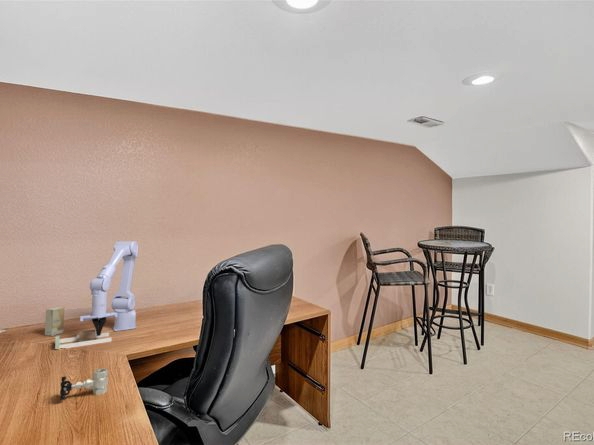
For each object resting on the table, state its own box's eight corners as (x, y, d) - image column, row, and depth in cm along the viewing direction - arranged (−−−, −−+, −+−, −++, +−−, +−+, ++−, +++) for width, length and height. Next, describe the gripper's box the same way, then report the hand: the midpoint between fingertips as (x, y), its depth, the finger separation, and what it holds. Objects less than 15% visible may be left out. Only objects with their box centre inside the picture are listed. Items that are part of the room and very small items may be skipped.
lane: (107, 332, 163) (107, 326, 163) (111, 341, 150) (111, 334, 151) (55, 340, 151) (55, 333, 151) (55, 350, 139) (55, 342, 139)
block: (94, 339, 153) (94, 329, 153) (95, 342, 149) (95, 332, 149) (78, 341, 150) (79, 331, 150) (79, 344, 146) (79, 334, 146)
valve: (107, 386, 108) (62, 395, 102) (108, 365, 108) (62, 372, 102) (107, 395, 102) (59, 405, 96) (108, 373, 102) (60, 381, 96)
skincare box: (52, 336, 156) (52, 309, 157) (44, 335, 157) (45, 309, 158) (64, 332, 163) (65, 306, 163) (56, 331, 164) (57, 306, 164)
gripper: (80, 308, 145) (79, 340, 145) (118, 304, 153) (117, 334, 153) (80, 305, 151) (79, 335, 150) (116, 301, 159) (115, 330, 159)
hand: (98, 335), depth 152 cm, fingers closed
